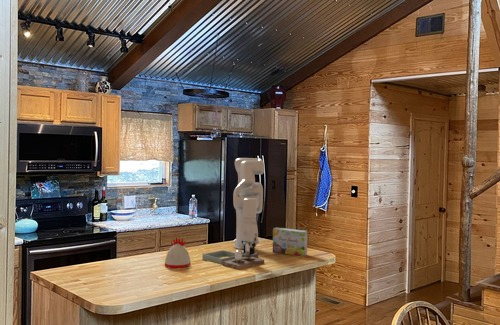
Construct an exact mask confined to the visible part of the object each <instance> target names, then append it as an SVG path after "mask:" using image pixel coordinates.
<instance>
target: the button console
mask: <svg viewBox="0 0 500 325" xmlns="http://www.w3.org/2000/svg"><path fill="white" fill-rule="evenodd" d="M242 255H243V257H245V254H244V251H242ZM252 257H255V258H259V253H256V252H254V254H253V256H252Z"/></svg>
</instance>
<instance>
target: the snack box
mask: <svg viewBox="0 0 500 325" xmlns="http://www.w3.org/2000/svg"><path fill="white" fill-rule="evenodd" d="M272 253H276V254H284V255H289V256H290V255H292V256H298V257H299V256H300V257H305V256H307V255H308V230H303V229H293V228H285V227H273V228H272Z"/></svg>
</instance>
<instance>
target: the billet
mask: <svg viewBox="0 0 500 325" xmlns="http://www.w3.org/2000/svg"><path fill="white" fill-rule="evenodd" d="M252 244H253V243H252ZM250 247H251V246H250V242H245V257H247V258H251V257H252V256H253V254H252V255H250Z"/></svg>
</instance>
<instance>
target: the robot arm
mask: <svg viewBox="0 0 500 325" xmlns="http://www.w3.org/2000/svg"><path fill="white" fill-rule="evenodd" d="M234 167H235V170H236V172H237V178H238V179H237V186H236V187H235V188H234V190H233V194H232V196H233V207H234V209H235V213H236V229H235V230H236V232H235V233H236V234H235V236H236V237H235V239H234V240H232V243H235V244H233V248H235V249H236V250H243V252H244V253H245V242H250V246H251V247H250V255H252V254H254V253H256V251H255V247H256V246H257V245H258V244H259V243H260V241H259V231H258V230H259V229H258V223H257V214H261V213H262V211H263V207H264V206H263V203H264V202H263V201H264V199H263V198H264V188H263V185H262V183H261V182H259V181H257V182H256V177H255V175H263V174H264V172H265V163H264V160H263V159H262V158H259V157H258V158H257V157H255V158H253V157H250V158H249V157H238V158H235V160H234ZM252 243H253V244H252Z"/></svg>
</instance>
